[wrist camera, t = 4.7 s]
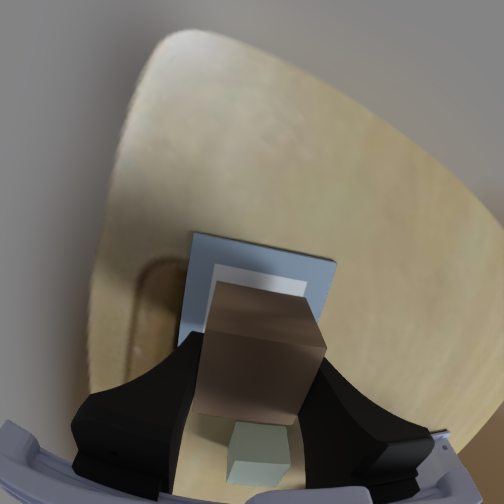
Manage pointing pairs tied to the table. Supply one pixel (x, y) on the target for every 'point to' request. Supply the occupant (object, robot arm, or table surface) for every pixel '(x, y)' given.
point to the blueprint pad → (248, 276)
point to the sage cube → (257, 455)
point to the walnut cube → (257, 355)
